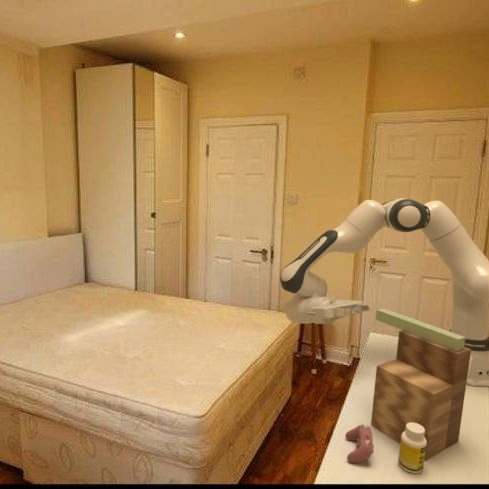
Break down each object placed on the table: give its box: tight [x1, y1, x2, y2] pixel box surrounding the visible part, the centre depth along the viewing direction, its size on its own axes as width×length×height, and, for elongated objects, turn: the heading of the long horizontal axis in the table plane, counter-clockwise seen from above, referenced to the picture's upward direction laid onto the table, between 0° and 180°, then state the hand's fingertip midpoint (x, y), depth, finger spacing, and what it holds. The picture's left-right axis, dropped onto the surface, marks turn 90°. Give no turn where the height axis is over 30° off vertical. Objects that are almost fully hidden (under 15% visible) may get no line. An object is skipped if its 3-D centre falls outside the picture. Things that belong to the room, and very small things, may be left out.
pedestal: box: [370, 330, 471, 462], centre depth 102 cm, size 16×14×25 cm
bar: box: [375, 308, 465, 351], centre depth 106 cm, size 24×3×3 cm, turn 33°
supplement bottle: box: [397, 422, 427, 474], centre depth 91 cm, size 5×5×10 cm
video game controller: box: [345, 423, 375, 464], centre depth 96 cm, size 10×5×7 cm, turn 169°
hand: (359, 309), depth 122 cm, fingers open, 8 cm apart
